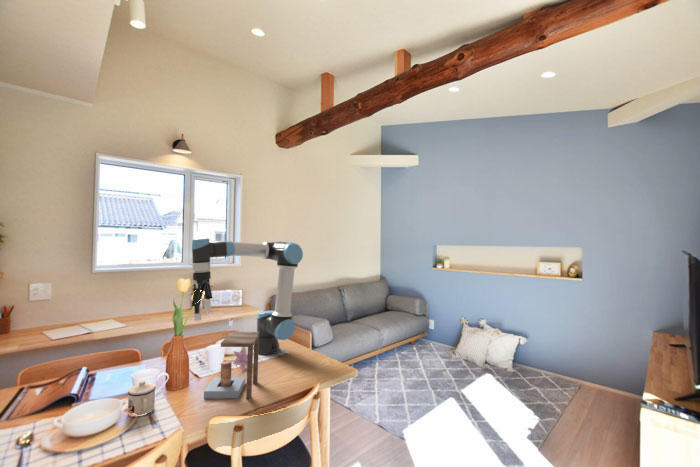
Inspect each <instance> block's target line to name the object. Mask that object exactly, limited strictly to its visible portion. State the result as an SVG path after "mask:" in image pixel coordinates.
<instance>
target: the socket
mask: <svg viewBox="0 0 700 467" xmlns="http://www.w3.org/2000/svg"><path fill="white" fill-rule="evenodd" d="M220 380H221V376H214V377H213V378H212V379H211V381H210V382H209V383H208V385H207V386H206V388H205V389H204V391H203V399H238V398H239V397H240V395H241V393H242V391H243V388H244V386H246V385H245V384H246V376H231V387H220Z"/></svg>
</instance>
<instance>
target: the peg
mask: <svg viewBox="0 0 700 467" xmlns="http://www.w3.org/2000/svg"><path fill="white" fill-rule="evenodd" d="M232 366H233V363H232V361H228V360H227V361H222V362H220V377H221V380H220V387H231V377H232Z"/></svg>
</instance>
